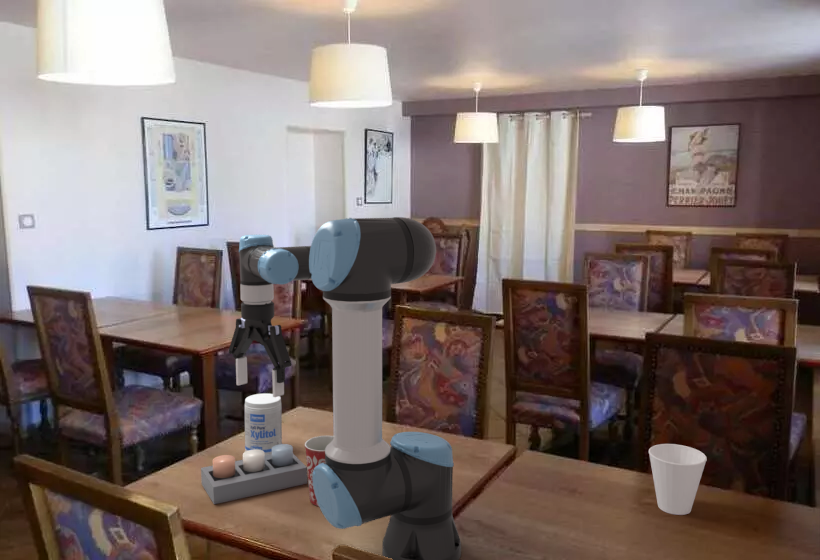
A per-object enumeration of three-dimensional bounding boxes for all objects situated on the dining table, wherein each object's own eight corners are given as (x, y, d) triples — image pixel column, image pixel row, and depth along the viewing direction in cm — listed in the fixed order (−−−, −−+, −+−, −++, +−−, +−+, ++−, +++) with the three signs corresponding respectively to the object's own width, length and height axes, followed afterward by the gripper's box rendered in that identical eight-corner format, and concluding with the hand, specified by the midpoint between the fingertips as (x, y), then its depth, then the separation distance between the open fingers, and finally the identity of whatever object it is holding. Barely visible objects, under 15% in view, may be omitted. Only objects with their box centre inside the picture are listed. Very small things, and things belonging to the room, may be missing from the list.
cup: (667, 523, 144) (670, 467, 142) (635, 498, 155) (637, 446, 154) (715, 516, 147) (719, 461, 145) (680, 492, 159) (683, 441, 157)
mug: (334, 512, 149) (333, 452, 147) (298, 504, 152) (296, 446, 150) (360, 488, 160) (359, 433, 159) (326, 482, 164) (325, 427, 162)
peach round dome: (238, 475, 158) (237, 460, 158) (216, 479, 156) (215, 465, 155) (232, 467, 162) (231, 453, 162) (210, 471, 160) (210, 457, 160)
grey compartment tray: (307, 483, 163) (307, 467, 163) (213, 504, 153) (213, 487, 152) (290, 465, 174) (289, 450, 173) (201, 483, 163) (200, 467, 162)
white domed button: (267, 469, 162) (267, 455, 161) (246, 473, 159) (246, 459, 159) (261, 461, 166) (260, 447, 165) (240, 465, 163) (240, 451, 163)
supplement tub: (250, 461, 176) (248, 406, 174) (241, 449, 184) (239, 396, 182) (287, 454, 181) (285, 400, 179) (276, 442, 189) (275, 390, 187)
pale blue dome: (295, 463, 165) (295, 449, 164) (275, 467, 163) (275, 453, 162) (288, 456, 169) (288, 442, 169) (269, 460, 167) (268, 446, 166)
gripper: (306, 306, 155) (307, 396, 158) (237, 293, 170) (240, 376, 173) (280, 310, 149) (281, 405, 152) (212, 297, 164) (215, 382, 168)
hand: (259, 389), depth 163 cm, fingers open, 13 cm apart
